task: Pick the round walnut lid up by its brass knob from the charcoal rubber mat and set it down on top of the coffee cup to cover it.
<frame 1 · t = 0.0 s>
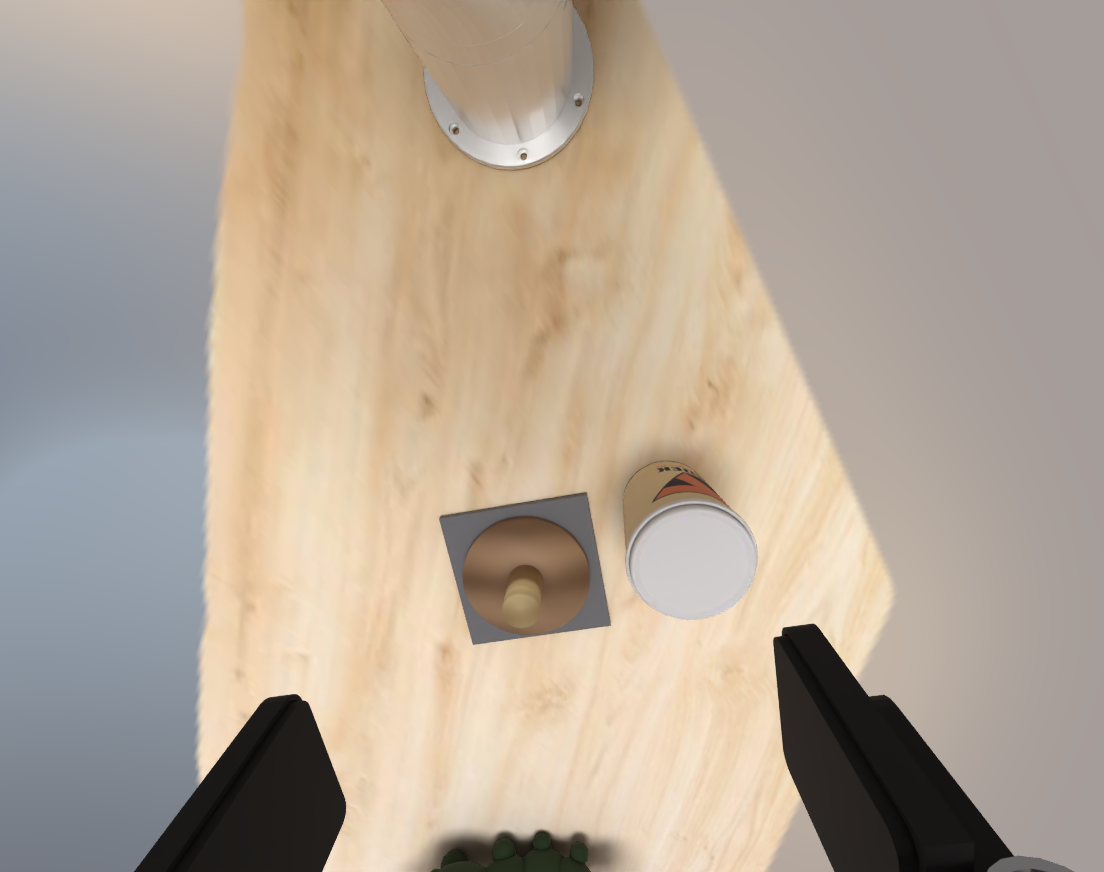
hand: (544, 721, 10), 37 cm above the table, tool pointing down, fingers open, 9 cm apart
coffee cup: (664, 499, 48), on the table
mat: (527, 570, 51), on the table
toy figurine: (513, 850, 61), on the table
lid: (527, 573, 50), point 1 cm above the table, touching mat
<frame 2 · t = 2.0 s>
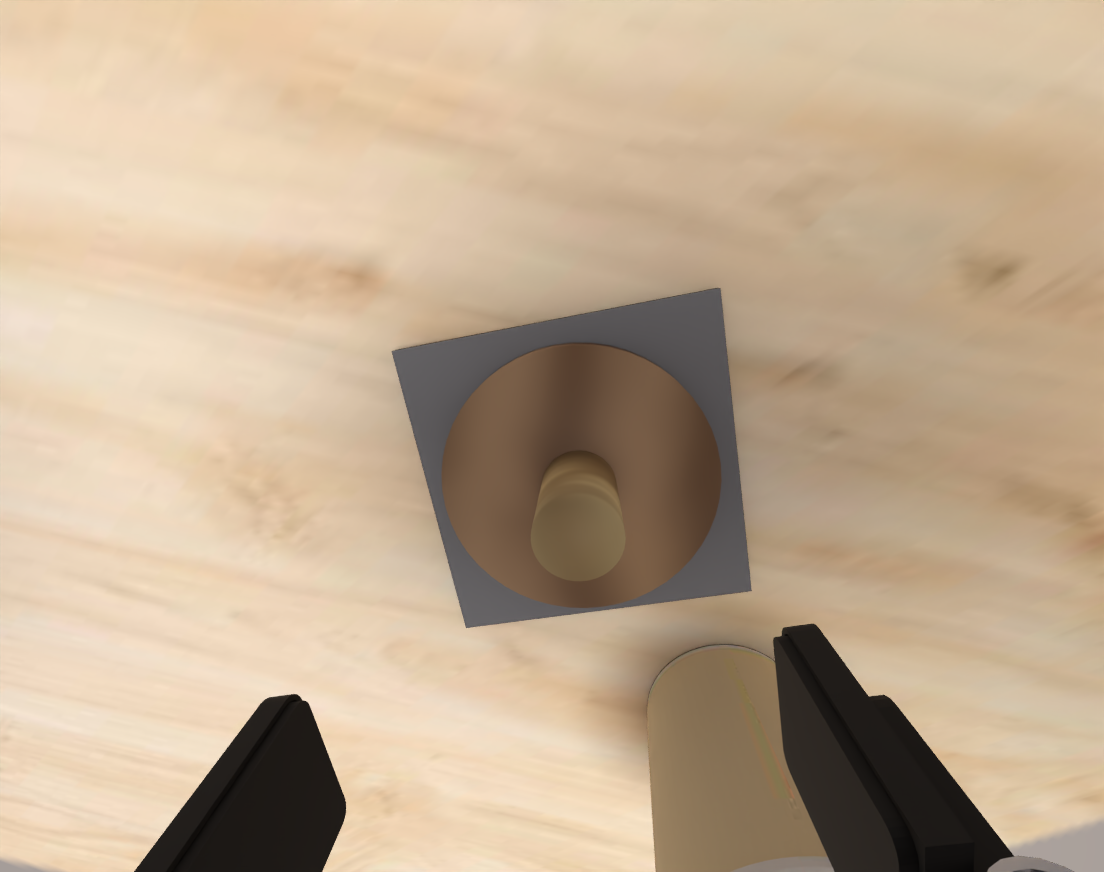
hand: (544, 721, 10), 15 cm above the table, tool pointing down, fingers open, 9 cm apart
coffee cup: (719, 703, 27), on the table
mat: (579, 471, 24), on the table
lid: (579, 476, 24), point 1 cm above the table, touching mat
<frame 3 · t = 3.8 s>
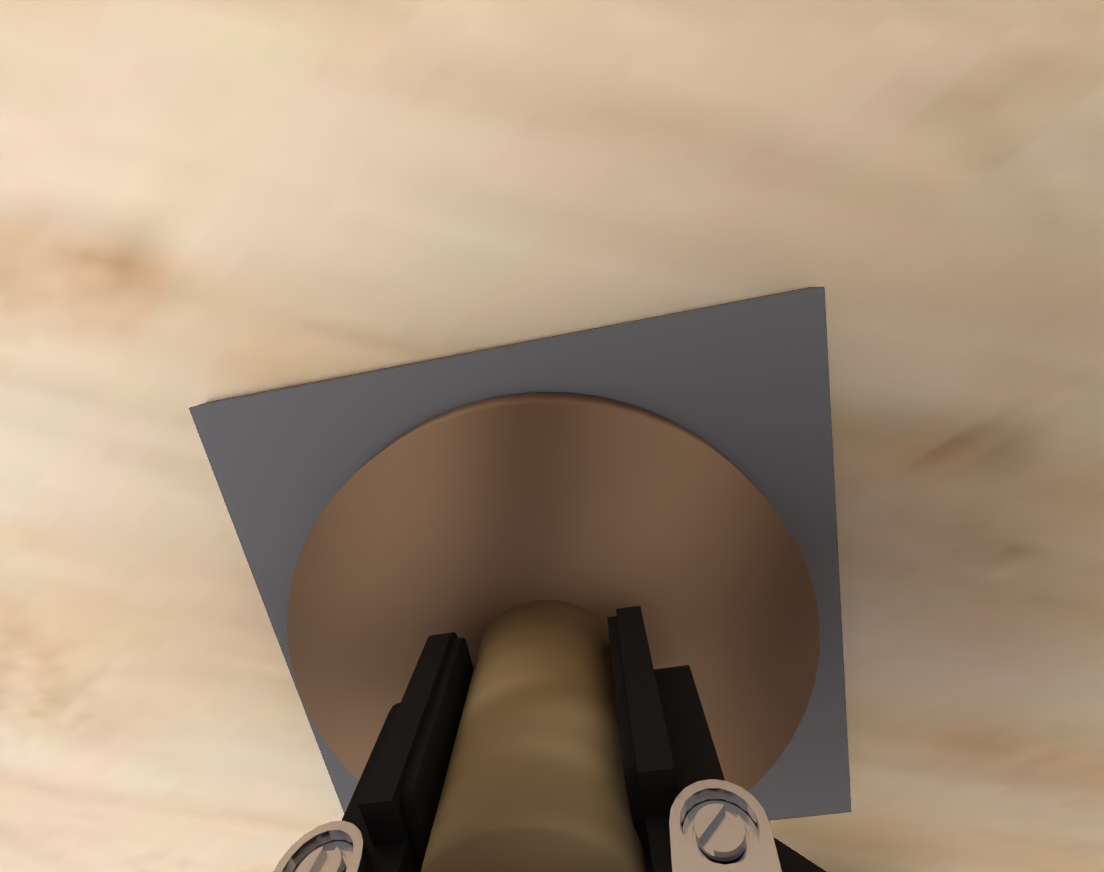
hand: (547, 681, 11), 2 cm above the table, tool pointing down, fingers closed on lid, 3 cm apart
mat: (551, 614, 14), on the table
lid: (550, 628, 13), point 1 cm above the table, touching gripper, mat
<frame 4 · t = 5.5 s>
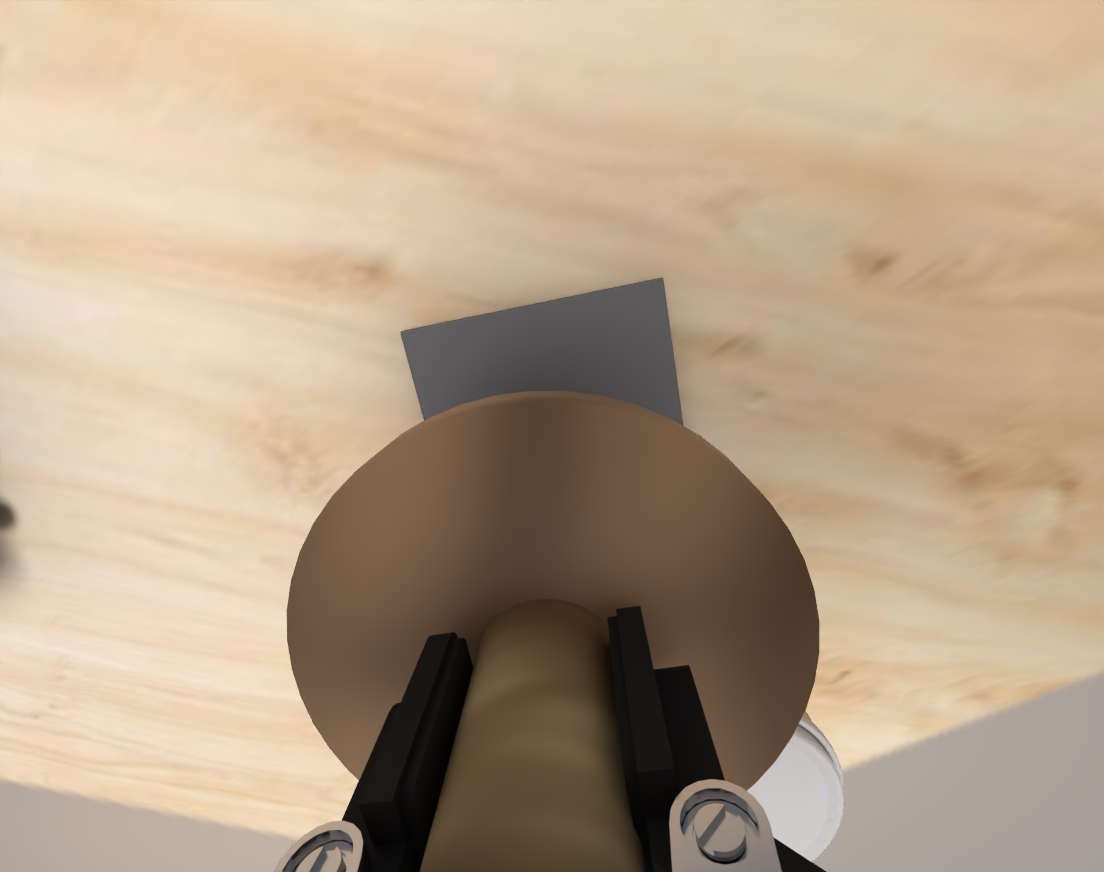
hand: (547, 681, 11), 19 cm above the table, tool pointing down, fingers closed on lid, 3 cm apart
coffee cup: (675, 625, 33), on the table
mat: (555, 430, 29), on the table
lid: (550, 627, 13), point 17 cm above the table, touching gripper
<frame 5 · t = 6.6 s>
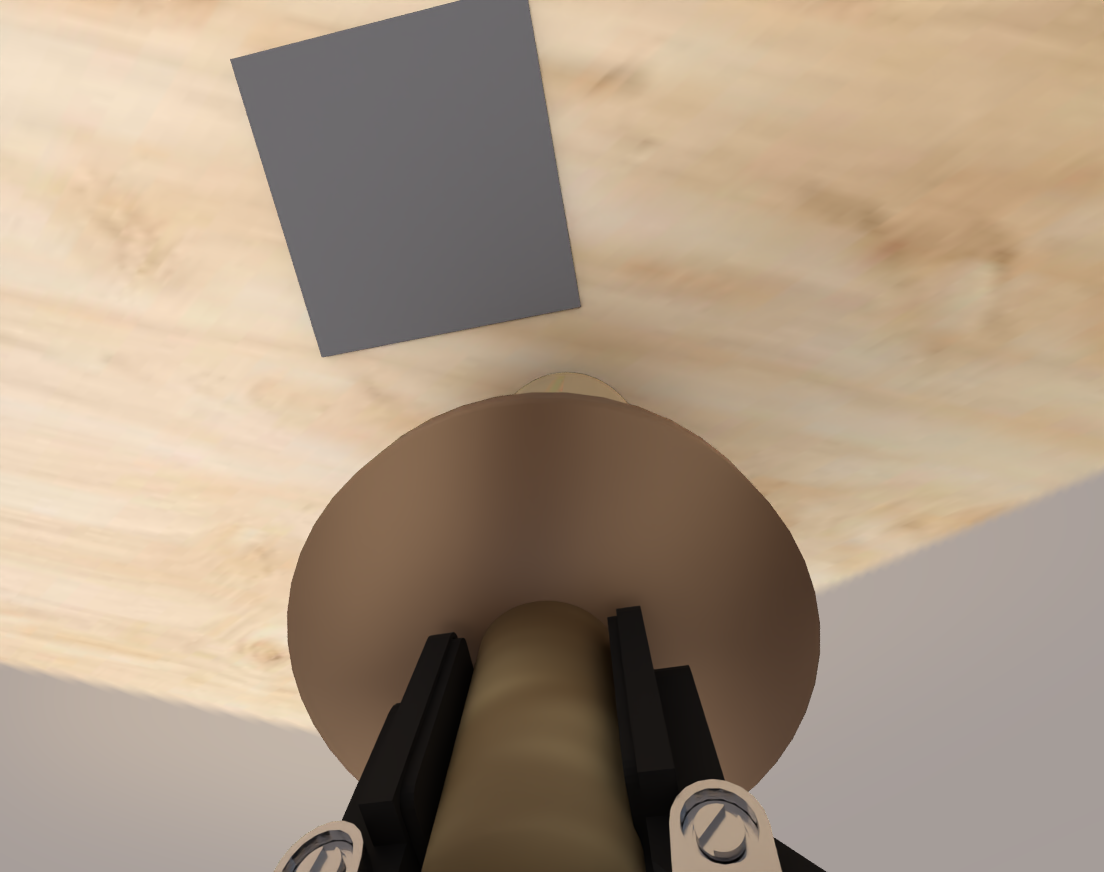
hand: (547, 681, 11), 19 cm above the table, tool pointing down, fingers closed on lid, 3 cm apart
coffee cup: (567, 439, 29), on the table
mat: (417, 191, 26), on the table
lid: (550, 629, 13), point 17 cm above the table, touching gripper
when the fingers open (15 cm above the table, at t = 7.3 s): lid drops 1 cm, resting on coffee cup.
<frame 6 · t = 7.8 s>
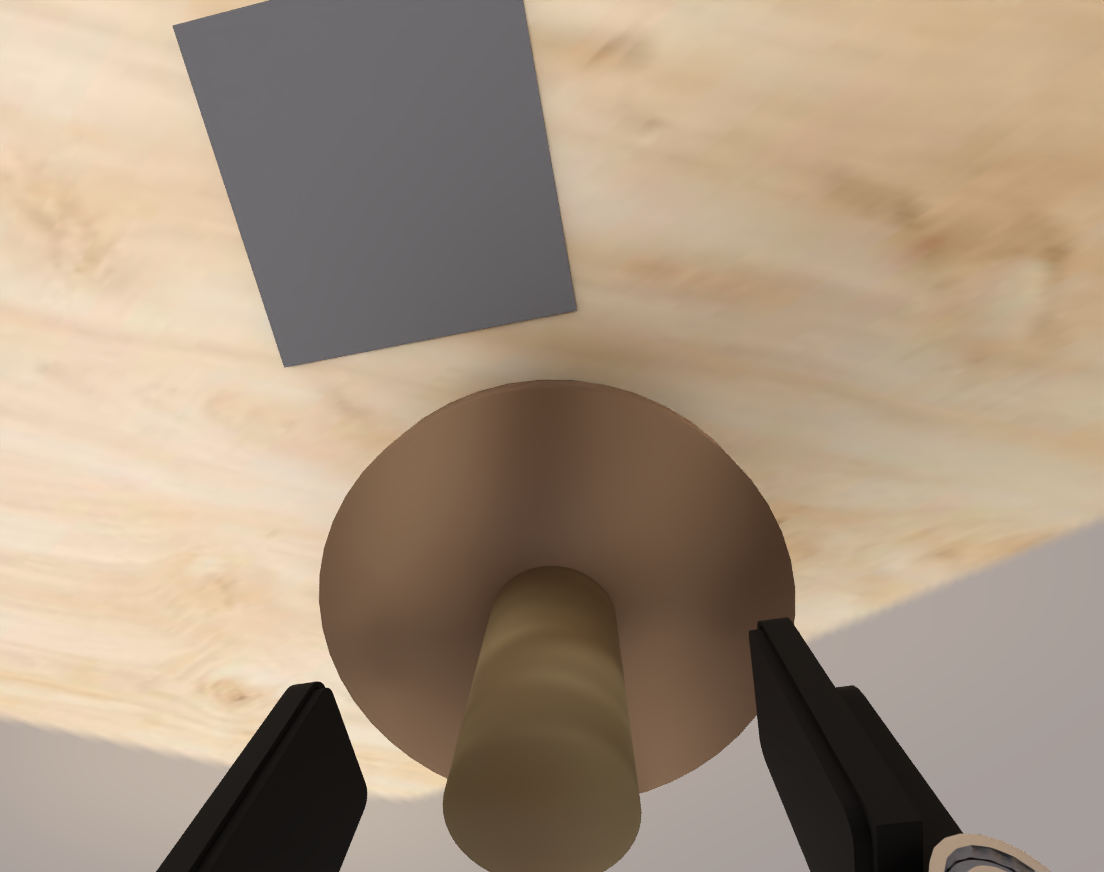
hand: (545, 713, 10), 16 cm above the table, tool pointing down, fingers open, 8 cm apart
mat: (390, 178, 23), on the table
lid: (554, 595, 14), point 12 cm above the table, touching coffee cup
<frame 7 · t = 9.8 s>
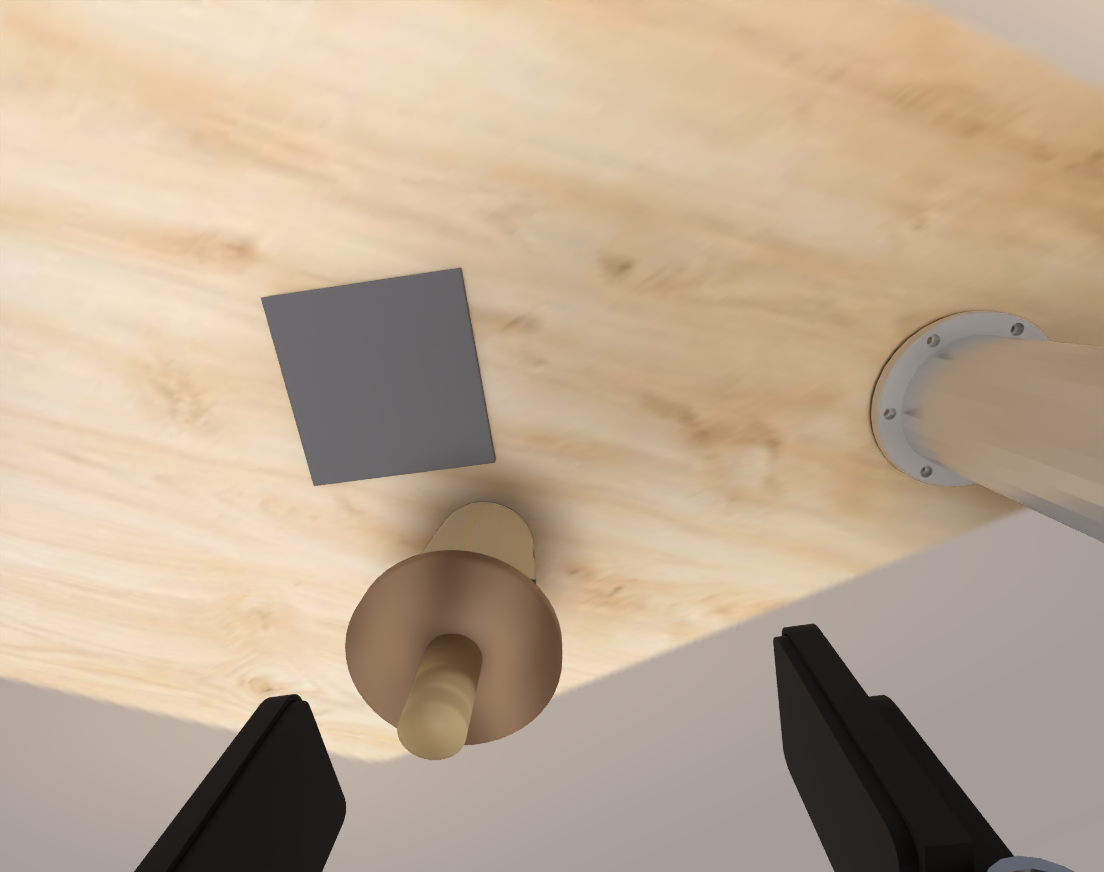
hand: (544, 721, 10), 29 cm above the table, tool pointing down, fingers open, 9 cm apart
coffee cup: (486, 544, 42), on the table, touching lid
mat: (385, 382, 38), on the table
lid: (457, 644, 30), point 12 cm above the table, touching coffee cup
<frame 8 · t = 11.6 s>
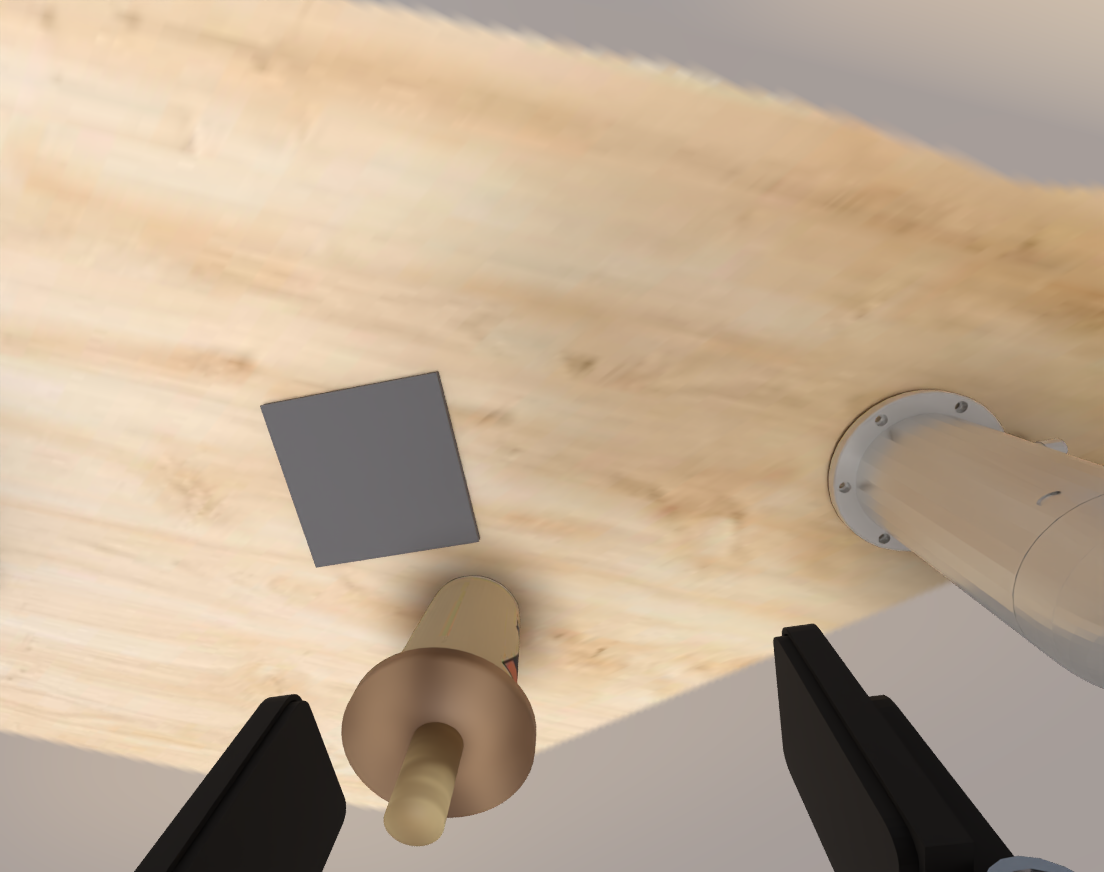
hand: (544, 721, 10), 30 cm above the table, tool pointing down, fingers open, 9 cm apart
coffee cup: (476, 613, 45), on the table, touching lid
mat: (375, 473, 42), on the table
lid: (442, 727, 33), point 12 cm above the table, touching coffee cup
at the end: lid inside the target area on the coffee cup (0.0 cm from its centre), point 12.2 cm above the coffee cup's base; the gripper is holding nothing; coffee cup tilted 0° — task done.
